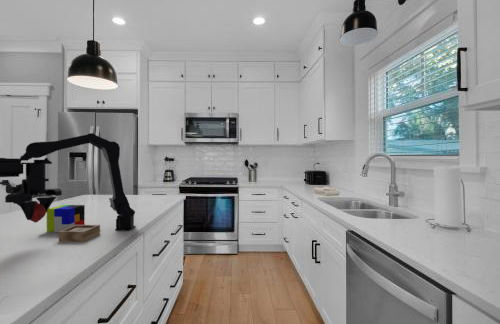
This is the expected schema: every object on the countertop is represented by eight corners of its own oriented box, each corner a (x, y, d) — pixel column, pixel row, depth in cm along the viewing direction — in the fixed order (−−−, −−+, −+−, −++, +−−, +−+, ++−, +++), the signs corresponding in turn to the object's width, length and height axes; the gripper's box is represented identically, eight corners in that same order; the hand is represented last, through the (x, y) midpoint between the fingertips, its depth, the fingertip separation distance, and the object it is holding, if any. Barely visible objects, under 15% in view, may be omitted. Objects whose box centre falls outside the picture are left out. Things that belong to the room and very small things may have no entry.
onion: (49, 221, 97) (49, 200, 97) (32, 224, 92) (32, 202, 92) (39, 220, 99) (39, 199, 99) (21, 223, 94) (21, 201, 94)
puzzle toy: (69, 232, 112) (69, 209, 111) (46, 231, 112) (46, 209, 112) (84, 226, 122) (84, 205, 121) (63, 225, 122) (63, 204, 122)
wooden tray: (99, 233, 109) (99, 225, 109) (84, 241, 99) (84, 231, 99) (76, 233, 109) (76, 224, 109) (58, 241, 99) (58, 231, 99)
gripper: (35, 174, 105) (35, 212, 105) (-12, 177, 86) (-11, 224, 86) (62, 174, 105) (62, 212, 105) (21, 178, 86) (22, 224, 86)
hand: (36, 217), depth 95 cm, fingers closed on onion, 6 cm apart
